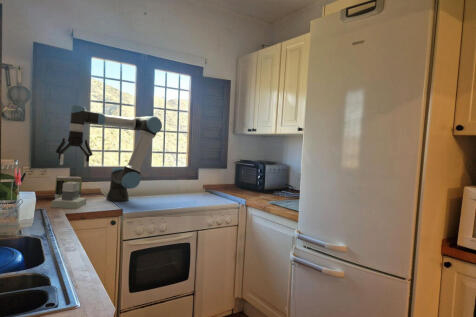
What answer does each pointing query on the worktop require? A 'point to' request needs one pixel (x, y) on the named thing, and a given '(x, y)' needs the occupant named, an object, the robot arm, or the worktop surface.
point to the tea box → (62, 180)
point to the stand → (69, 203)
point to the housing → (70, 191)
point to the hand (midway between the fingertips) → (73, 166)
